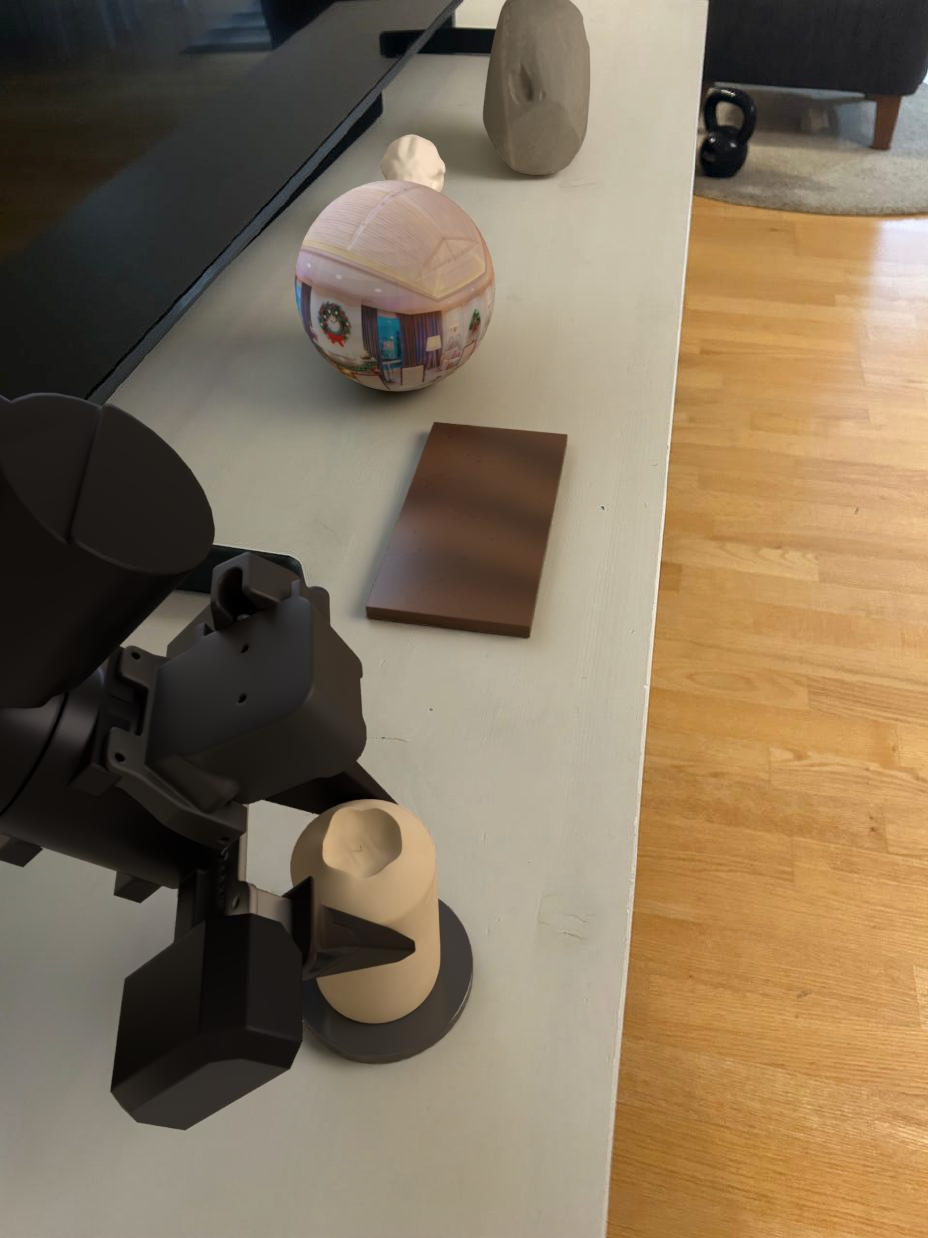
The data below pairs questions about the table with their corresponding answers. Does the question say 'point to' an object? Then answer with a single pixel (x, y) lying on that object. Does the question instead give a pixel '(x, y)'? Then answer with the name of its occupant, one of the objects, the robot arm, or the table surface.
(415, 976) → the candle
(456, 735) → the table surface
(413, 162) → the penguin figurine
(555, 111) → the decorative stone
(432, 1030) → the coaster
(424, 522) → the walnut board
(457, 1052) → the table surface
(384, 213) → the ornament
